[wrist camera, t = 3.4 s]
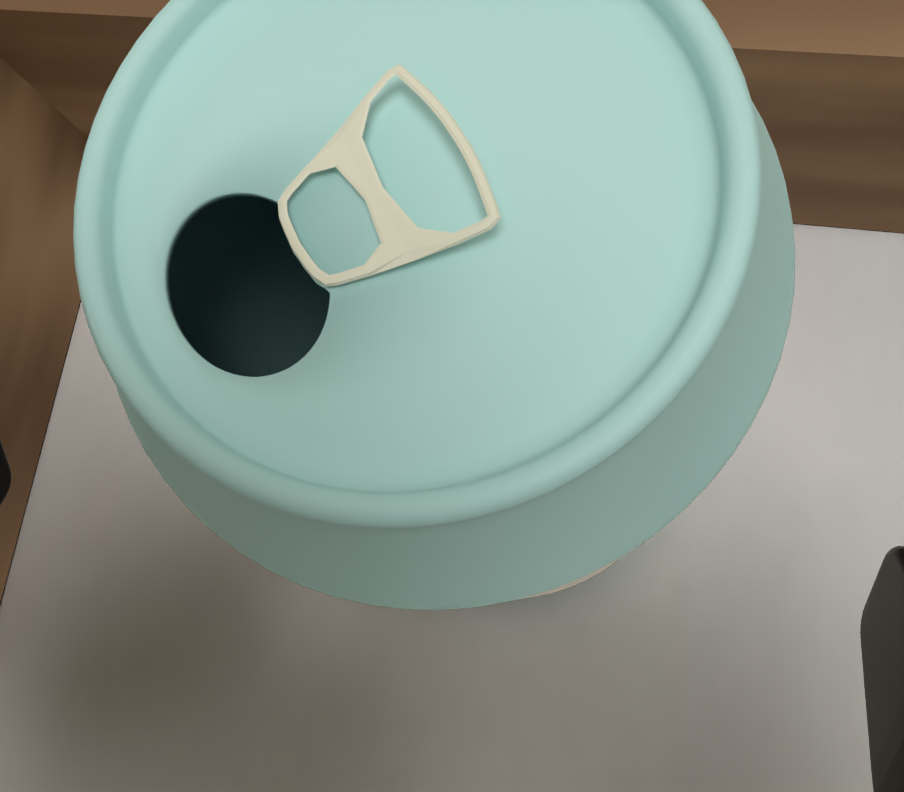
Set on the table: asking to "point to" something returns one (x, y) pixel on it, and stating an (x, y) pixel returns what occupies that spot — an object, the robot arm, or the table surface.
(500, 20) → the can
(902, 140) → the three-sided wooden tray
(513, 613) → the table surface
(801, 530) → the table surface
